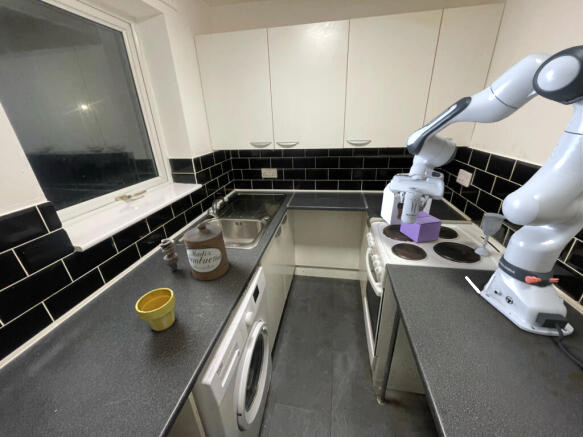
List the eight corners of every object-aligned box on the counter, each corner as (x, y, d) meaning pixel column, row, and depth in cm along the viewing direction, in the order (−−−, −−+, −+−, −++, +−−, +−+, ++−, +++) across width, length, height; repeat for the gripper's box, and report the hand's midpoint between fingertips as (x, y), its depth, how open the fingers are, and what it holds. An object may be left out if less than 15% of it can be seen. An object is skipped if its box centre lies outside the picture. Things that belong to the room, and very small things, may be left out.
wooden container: (187, 282, 91) (174, 233, 82) (199, 260, 105) (188, 216, 96) (225, 279, 92) (215, 230, 83) (231, 258, 106) (224, 214, 97)
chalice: (485, 248, 106) (498, 212, 98) (495, 257, 99) (510, 219, 92) (468, 248, 106) (479, 212, 99) (477, 256, 100) (490, 219, 93)
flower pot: (140, 324, 73) (130, 300, 69) (172, 305, 80) (165, 283, 76) (151, 343, 67) (141, 318, 63) (186, 320, 74) (179, 297, 70)
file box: (437, 239, 115) (442, 220, 111) (416, 242, 113) (420, 223, 108) (419, 228, 126) (422, 211, 122) (399, 231, 124) (402, 213, 120)
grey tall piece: (169, 267, 101) (160, 237, 95) (182, 265, 102) (174, 235, 96) (166, 275, 96) (156, 244, 90) (180, 272, 97) (171, 241, 91)
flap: (442, 221, 111) (442, 220, 111) (420, 224, 109) (420, 223, 108) (431, 216, 116) (432, 216, 116) (411, 219, 114) (411, 218, 114)
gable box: (415, 214, 144) (424, 169, 132) (427, 223, 132) (438, 175, 120) (380, 215, 143) (386, 171, 132) (389, 224, 131) (396, 176, 120)
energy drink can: (405, 225, 97) (411, 191, 91) (398, 219, 103) (403, 187, 96) (418, 224, 97) (426, 190, 91) (411, 218, 103) (417, 186, 97)
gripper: (394, 169, 102) (385, 196, 99) (448, 174, 91) (440, 205, 88) (395, 177, 107) (386, 203, 104) (446, 182, 96) (438, 212, 93)
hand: (411, 204), depth 96 cm, fingers closed on energy drink can, 6 cm apart
